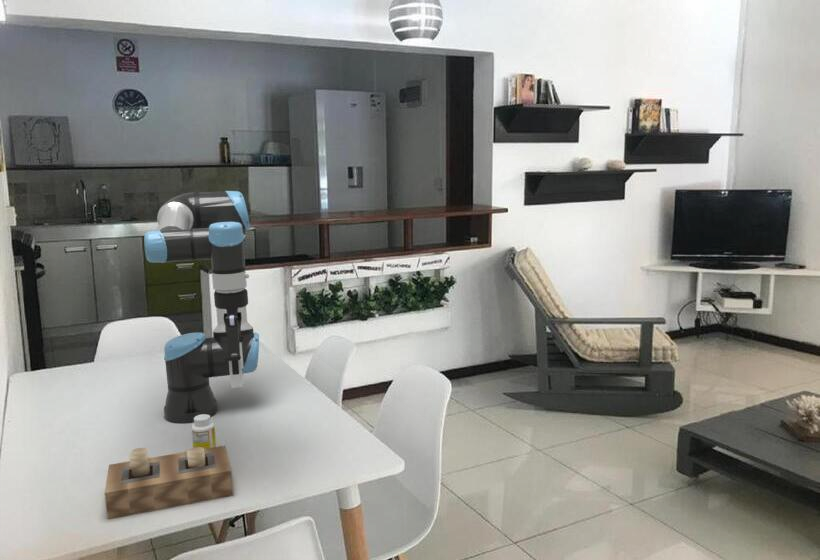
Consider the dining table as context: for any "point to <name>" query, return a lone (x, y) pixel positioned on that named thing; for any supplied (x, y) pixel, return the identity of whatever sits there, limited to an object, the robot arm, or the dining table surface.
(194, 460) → the short peg
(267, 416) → the dining table surface
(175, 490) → the socket block
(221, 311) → the robot arm
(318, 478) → the dining table surface
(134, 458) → the beige round peg
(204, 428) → the supplement bottle
